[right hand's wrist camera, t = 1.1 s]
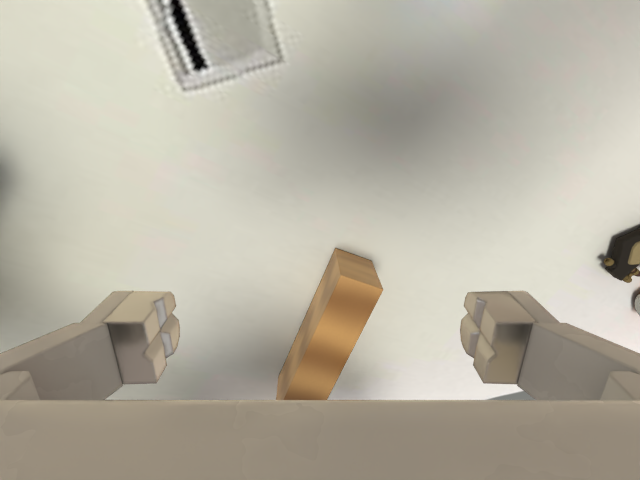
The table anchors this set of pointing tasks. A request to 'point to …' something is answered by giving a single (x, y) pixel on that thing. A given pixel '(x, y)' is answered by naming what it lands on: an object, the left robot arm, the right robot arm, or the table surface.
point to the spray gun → (626, 260)
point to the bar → (330, 328)
